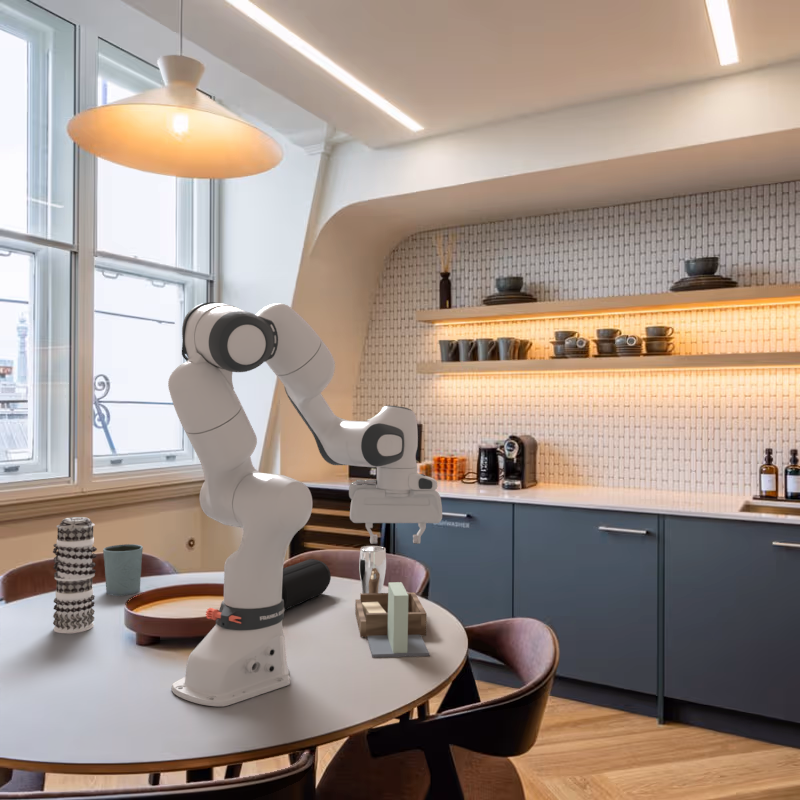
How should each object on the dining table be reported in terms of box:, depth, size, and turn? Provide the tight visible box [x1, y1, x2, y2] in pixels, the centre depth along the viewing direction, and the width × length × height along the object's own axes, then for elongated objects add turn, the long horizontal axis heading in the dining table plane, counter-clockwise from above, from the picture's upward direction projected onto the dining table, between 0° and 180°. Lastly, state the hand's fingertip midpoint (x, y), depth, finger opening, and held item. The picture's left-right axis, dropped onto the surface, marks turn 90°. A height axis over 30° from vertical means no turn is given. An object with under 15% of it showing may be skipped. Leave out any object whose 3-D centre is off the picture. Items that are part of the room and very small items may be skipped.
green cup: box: [102, 543, 144, 597], centre depth 196 cm, size 10×10×12 cm
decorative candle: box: [52, 516, 98, 635], centre depth 164 cm, size 9×9×25 cm
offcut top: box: [362, 602, 386, 617], centre depth 171 cm, size 11×4×2 cm, turn 14°
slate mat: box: [366, 634, 430, 658], centre depth 155 cm, size 12×12×1 cm
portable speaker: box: [282, 558, 332, 611], centre depth 186 cm, size 26×10×10 cm, turn 155°
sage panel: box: [387, 581, 408, 653], centre depth 155 cm, size 11×3×12 cm, turn 7°
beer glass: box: [358, 545, 387, 593], centre depth 186 cm, size 7×7×15 cm
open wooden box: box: [354, 592, 428, 638], centre depth 171 cm, size 18×15×5 cm
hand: (395, 543), depth 157 cm, fingers open, 8 cm apart
